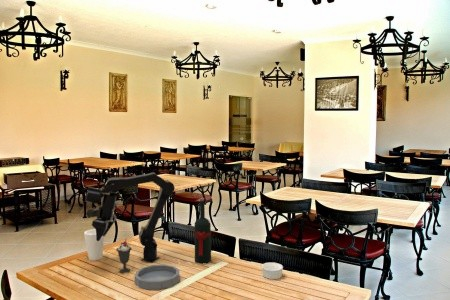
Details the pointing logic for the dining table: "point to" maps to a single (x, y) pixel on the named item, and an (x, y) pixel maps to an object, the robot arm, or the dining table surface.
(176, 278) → the grey polygonal tray
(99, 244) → the foam cup
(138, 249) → the dining table surface
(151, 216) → the robot arm
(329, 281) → the dining table surface
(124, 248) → the sundae
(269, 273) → the ramekin
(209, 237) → the wine bottle
